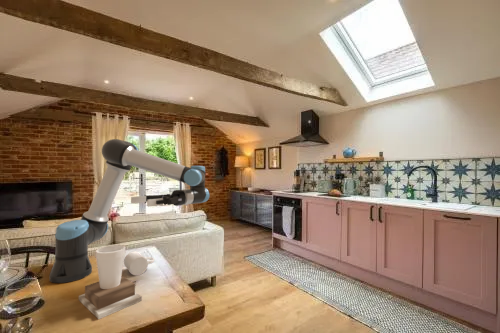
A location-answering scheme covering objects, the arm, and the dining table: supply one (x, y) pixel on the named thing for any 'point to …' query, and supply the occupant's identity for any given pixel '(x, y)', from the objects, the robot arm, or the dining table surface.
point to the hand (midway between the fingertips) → (139, 201)
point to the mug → (137, 263)
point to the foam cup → (110, 265)
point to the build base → (111, 307)
